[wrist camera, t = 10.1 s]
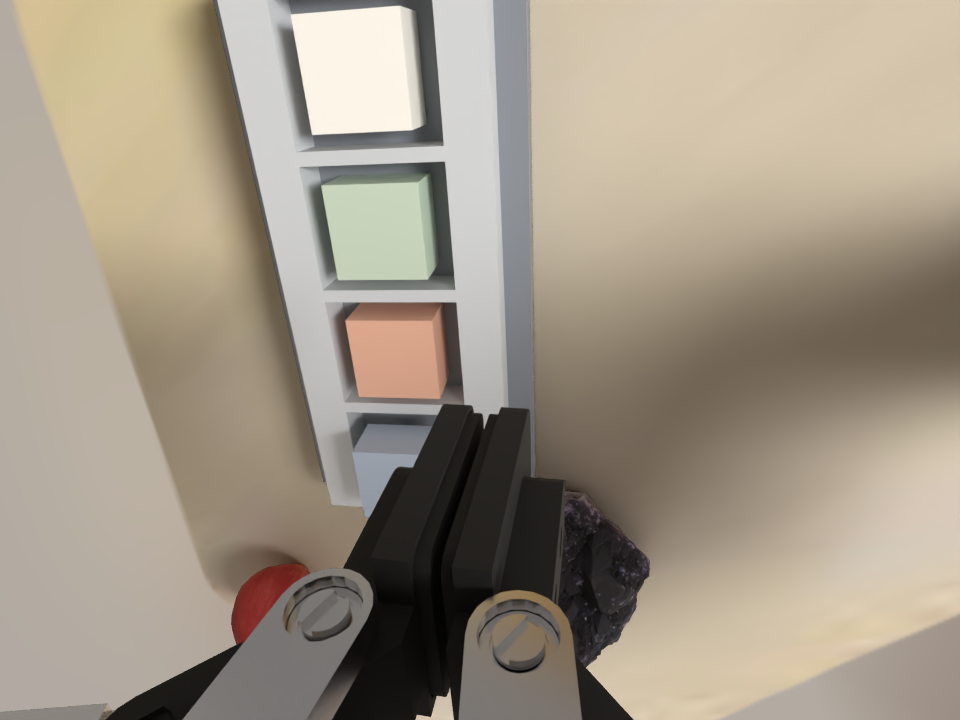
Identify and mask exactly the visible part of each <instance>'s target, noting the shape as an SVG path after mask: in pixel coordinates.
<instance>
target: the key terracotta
mask: <svg viewBox="0 0 960 720" xmlns="http://www.w3.org/2000/svg"><path fill="white" fill-rule="evenodd" d="M345 322H346V328H347V333H348V339H349V345H350V350H351V356H352V361H353V367H354V373H355V378H356V384H357V389H358V395H359V397H382V398H421V399H440V398H441V395H442V393H443V390H444V387H445V385H446V382H447V380H448V377H449V364H448V353H447V342H446V331H445V320H444V310H443V302H361V303H360V304H359V305H358V307H357V308H356V309H355V310H354V311H353V312H352V313H351V315H350V316H349V317H348V318H347V319H346V320H345Z"/></svg>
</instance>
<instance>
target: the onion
mask: <svg viewBox="0 0 960 720" xmlns="http://www.w3.org/2000/svg"><path fill="white" fill-rule="evenodd" d="M308 574H310V573H309V572H308V570H307V568H306V567H305V566H304V565H302V564H297V563H295V564H284V565H278V566H272V567H267V568H265V569H263V570H261V571H259V572H258V573H256V574H255V575H253V576H252V577H251V578H250V579H249V580H248V581H247V582H246V583H245V584H244V585H243V586H242V587H241V589H240V591H239V593H238V595H237V597H236V601H235V604H234V608H233V612H232V621H231V625H232V631H233V634H234V637H235V641H236V644H239V643H241V642H243V641H245V640H246V639H247V638H248V637H249V635H250V634H251V633H252V632H253V630H254V629H255V628H256V627H257V625H258V624H259V623H260V622H261V620H262V619H263V618H264V617H265V615H266V614H267V613H268V612H269V610H270V609H271V608H272V607H273V605H274V604H275V603H276V602H277V600H278V599H279V598H280V596H281V595H282V594H283V593H284V592H285V591H286V590H287V589H288V588H289V587H290V586H291V585H292V584H293V583H295V582H296V581H298V580H300V579H301V578H303V577H304V576H306V575H308Z"/></svg>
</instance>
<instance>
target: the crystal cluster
mask: <svg viewBox="0 0 960 720" xmlns="http://www.w3.org/2000/svg"><path fill="white" fill-rule="evenodd" d="M649 564H650V563H649V559H648V558H647V556H646V555H645V554H643V553H642V552H641V551H640V550H638V549H637V547H636V546H635V545H634V543H633V542H631V541H630V540H629V539H628V538H627V537H626V536H625V534H624V533H623V532H622V530H621V529H620V528H619V527H618V526H617V525H615V524H613V523H611V522H610V521H609V520H607V519H606V518H605V517H604V516H602V514H601V512H600V510H599V509H598V507H597V506H596V505H595V504H594V502H593V501H592V500H591V499H590V497H589V496H588V495H586V494H585V493H583V492H570V491H565V514H564V536H563V552H562V564H561V575H560V587H559V598H558V606H559V607H560V609H561V610H562V612H563V613H564V614H565V616H566V617H567V619H568V621H569V624H570V628H571V631H572V635H573V644H574V653H575V657H576V658H577V659H578V660H579V661H580V662H581V663H582V664H583V665H584V666H585V667H587V666H588V665H589V664H590V663H591V662H593V661H594V660H596V659H597V656H598V655H600V654H601V650H602V649H604V648H605V647H607V646H608V645H612V644H613V643H614V642H617V641H618V639H619V638H620V636H621V632H622V630H623V628H624V627H625V625H626V623H628V622H629V620H630V618H631V616H632V614H633V613H634V611H635V610H636V602H637V598H636V596H637V593H638V592H639V590H640V588H641V586H642V585H643V583H644V580H645V579H646V578H647V577H649V570H650V568H649Z"/></svg>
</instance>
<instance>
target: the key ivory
mask: <svg viewBox="0 0 960 720" xmlns="http://www.w3.org/2000/svg"><path fill="white" fill-rule="evenodd" d="M291 19H292V25H293V31H294V36H295V42H296V47H297V53H298V59H299V64H300V70H301V75H302V81H303V87H304V92H305V98H306V103H307V109H308V115H309V120H310V126H311V131H312V135H322V134H343V133H364V132H386V131H407V130H414V129H416V128H419V127H421V126H424V125H426V113H425V102H424V91H423V80H422V70H421V59H420V48H419V37H418V26H417V15H416V11H414V10H411V9H408V8H405V7H402V6H389V7H377V8H365V9H352V10H340V11H328V12H315V13H303V14H291Z"/></svg>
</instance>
